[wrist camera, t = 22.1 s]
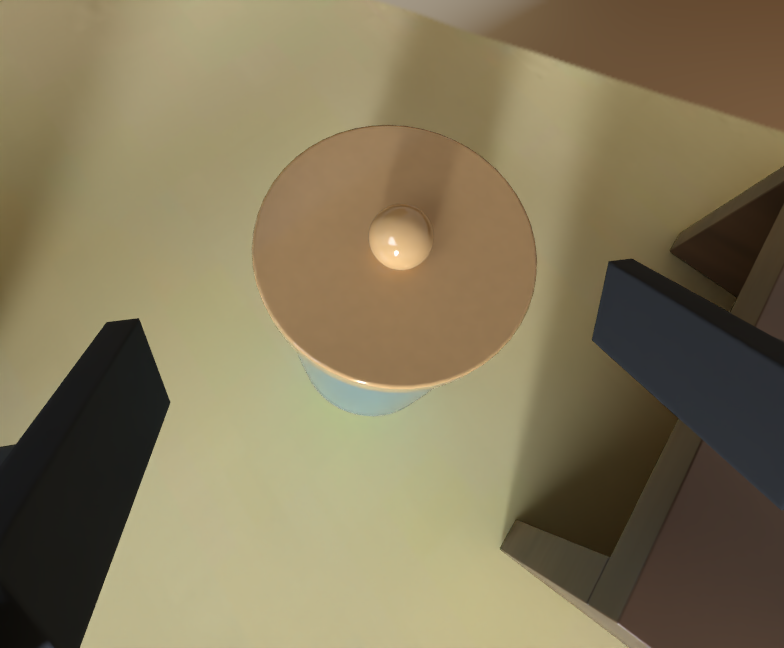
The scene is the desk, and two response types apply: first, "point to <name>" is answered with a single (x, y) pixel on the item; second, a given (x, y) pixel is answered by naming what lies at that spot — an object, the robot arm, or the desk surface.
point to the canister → (392, 264)
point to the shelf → (692, 488)
